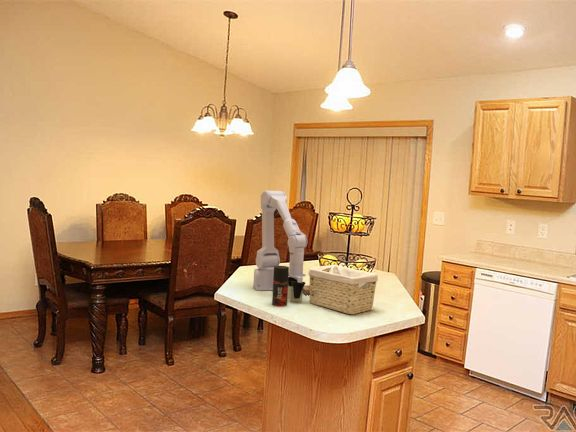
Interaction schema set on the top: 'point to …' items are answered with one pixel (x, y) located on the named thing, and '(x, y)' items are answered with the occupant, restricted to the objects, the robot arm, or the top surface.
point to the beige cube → (291, 294)
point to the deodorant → (280, 286)
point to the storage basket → (342, 288)
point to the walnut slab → (306, 290)
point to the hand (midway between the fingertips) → (294, 296)
